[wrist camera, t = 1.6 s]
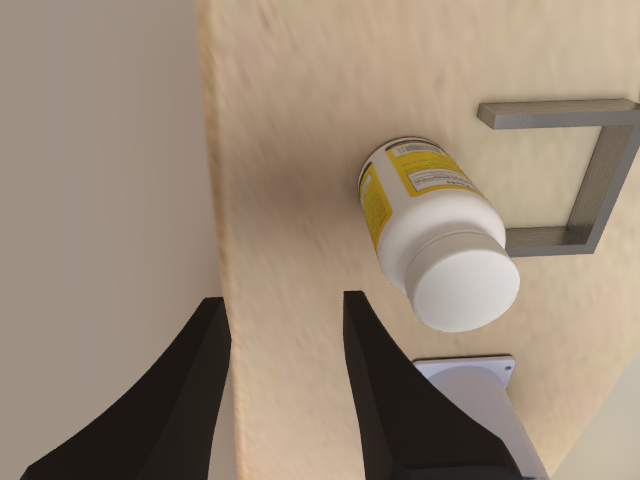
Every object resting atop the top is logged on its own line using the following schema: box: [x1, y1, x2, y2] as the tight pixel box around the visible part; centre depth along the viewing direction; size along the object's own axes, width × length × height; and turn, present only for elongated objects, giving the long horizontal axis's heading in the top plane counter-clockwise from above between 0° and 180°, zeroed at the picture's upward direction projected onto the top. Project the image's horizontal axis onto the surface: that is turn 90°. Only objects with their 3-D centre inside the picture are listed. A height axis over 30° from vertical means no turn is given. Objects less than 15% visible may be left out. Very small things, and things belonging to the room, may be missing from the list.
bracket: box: [477, 99, 640, 257], centre depth 22 cm, size 8×8×2 cm
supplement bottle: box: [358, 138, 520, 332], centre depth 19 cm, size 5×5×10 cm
